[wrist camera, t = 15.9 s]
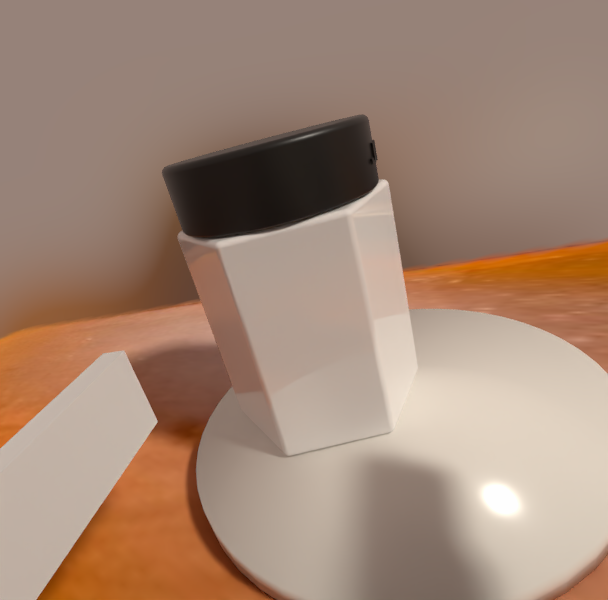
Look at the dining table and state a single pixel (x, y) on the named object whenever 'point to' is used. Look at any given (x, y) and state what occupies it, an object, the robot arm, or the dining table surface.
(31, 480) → the robot arm
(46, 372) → the dining table surface
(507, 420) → the saucer
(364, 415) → the jar
